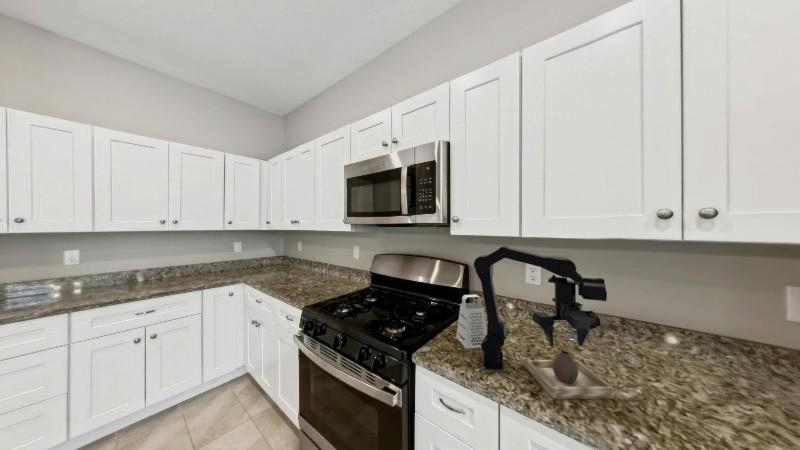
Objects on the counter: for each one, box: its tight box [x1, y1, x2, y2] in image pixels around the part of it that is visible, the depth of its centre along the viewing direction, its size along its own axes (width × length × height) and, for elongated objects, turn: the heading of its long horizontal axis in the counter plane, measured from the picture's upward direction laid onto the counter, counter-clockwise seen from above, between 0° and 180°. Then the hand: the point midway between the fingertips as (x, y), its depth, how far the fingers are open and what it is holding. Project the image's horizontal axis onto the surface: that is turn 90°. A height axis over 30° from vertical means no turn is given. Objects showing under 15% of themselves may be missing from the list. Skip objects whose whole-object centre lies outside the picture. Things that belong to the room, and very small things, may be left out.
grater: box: [455, 294, 487, 350], centre depth 111 cm, size 10×10×20 cm
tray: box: [525, 359, 616, 400], centre depth 82 cm, size 18×16×3 cm
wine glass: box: [562, 302, 584, 342], centre depth 115 cm, size 8×8×15 cm
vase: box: [552, 350, 578, 383], centre depth 82 cm, size 7×7×9 cm
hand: (565, 345), depth 82 cm, fingers open, 9 cm apart
